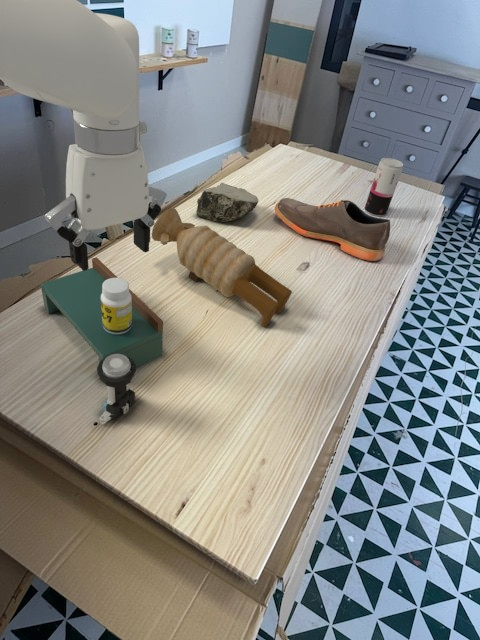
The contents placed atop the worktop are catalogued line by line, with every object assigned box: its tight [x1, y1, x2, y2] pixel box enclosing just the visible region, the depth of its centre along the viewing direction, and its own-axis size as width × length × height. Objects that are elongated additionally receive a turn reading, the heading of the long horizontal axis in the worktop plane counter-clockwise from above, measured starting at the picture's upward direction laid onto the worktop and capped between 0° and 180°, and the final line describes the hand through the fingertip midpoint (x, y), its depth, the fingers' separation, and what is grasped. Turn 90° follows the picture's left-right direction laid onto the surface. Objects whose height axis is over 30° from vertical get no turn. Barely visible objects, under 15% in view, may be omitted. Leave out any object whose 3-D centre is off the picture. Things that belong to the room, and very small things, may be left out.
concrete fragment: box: [195, 182, 259, 223], centre depth 121 cm, size 15×10×15 cm
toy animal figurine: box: [151, 207, 293, 328], centre depth 95 cm, size 10×12×30 cm
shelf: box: [40, 257, 164, 374], centre depth 81 cm, size 11×22×8 cm, turn 42°
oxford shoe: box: [274, 197, 391, 262], centre depth 119 cm, size 11×31×11 cm, turn 59°
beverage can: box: [364, 157, 404, 217], centre depth 133 cm, size 6×7×15 cm
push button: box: [96, 354, 137, 426], centre depth 68 cm, size 7×5×10 cm
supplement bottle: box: [101, 277, 132, 334], centre depth 74 cm, size 5×5×8 cm
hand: (112, 256), depth 67 cm, fingers open, 9 cm apart
